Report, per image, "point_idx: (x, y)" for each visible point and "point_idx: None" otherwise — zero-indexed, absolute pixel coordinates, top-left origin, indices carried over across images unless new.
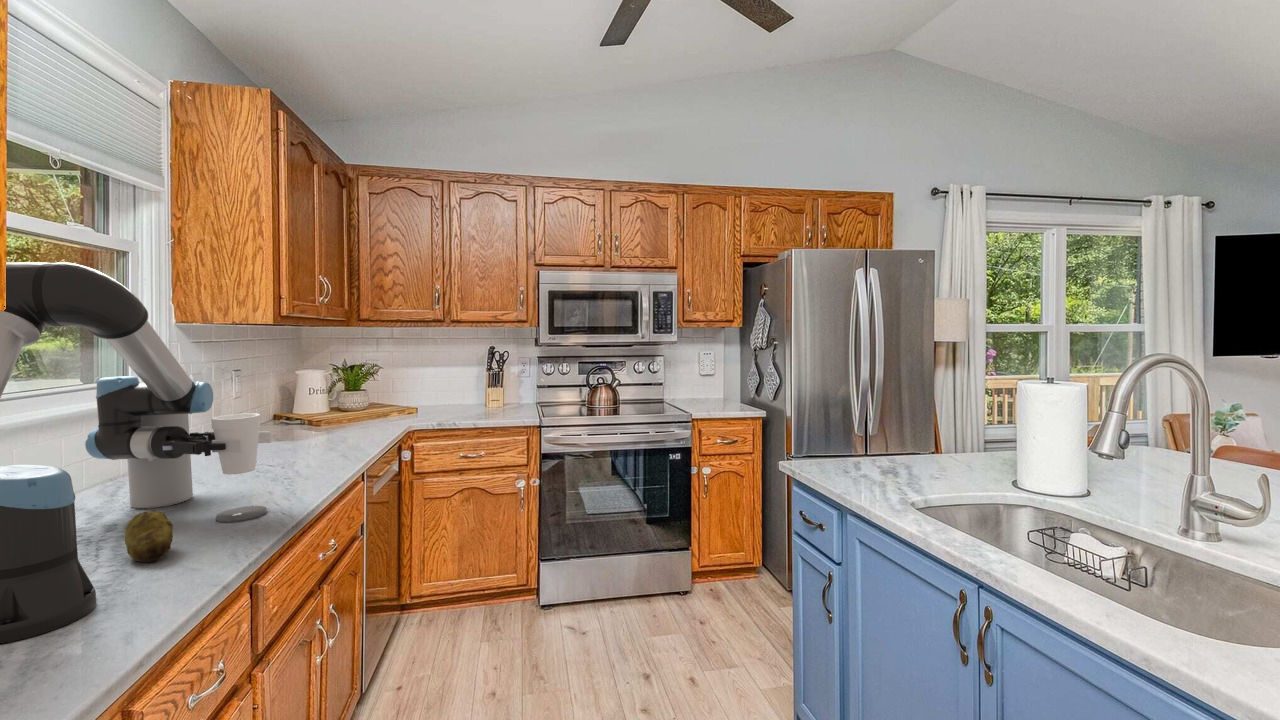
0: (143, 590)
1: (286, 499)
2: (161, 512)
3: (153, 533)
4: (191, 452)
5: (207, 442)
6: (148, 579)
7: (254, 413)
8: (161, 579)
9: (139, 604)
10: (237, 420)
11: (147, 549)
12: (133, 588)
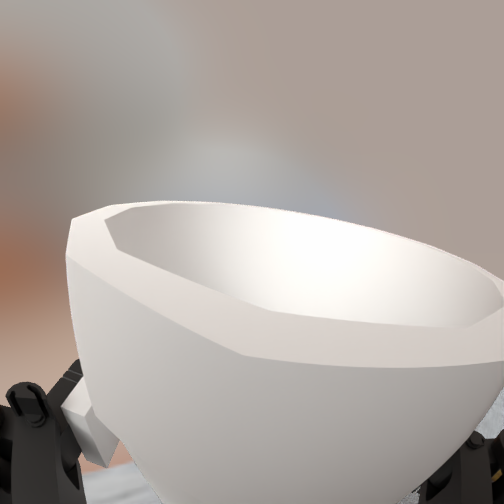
0: (496, 413)
1: (82, 480)
2: (493, 476)
3: None
4: (495, 494)
5: (473, 433)
6: (490, 431)
7: (145, 202)
8: (483, 421)
9: (500, 395)
10: (394, 246)
11: None
12: (501, 423)
